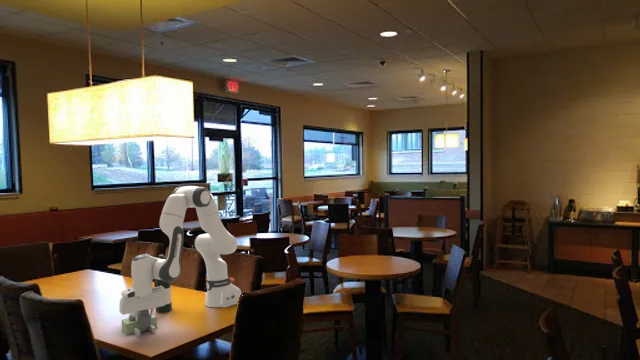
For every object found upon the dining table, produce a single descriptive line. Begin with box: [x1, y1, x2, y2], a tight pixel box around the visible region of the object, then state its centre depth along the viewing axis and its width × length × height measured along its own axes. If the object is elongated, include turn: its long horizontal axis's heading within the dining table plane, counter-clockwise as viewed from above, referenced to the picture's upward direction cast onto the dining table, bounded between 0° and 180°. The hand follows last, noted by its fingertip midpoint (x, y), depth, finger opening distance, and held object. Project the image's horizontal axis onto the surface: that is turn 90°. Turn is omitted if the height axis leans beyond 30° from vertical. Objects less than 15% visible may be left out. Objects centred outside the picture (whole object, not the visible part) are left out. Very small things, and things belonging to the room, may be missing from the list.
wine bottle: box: [153, 254, 173, 314], centre depth 240 cm, size 8×8×30 cm
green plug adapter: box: [121, 313, 158, 338], centre depth 211 cm, size 14×15×7 cm
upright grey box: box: [137, 309, 151, 328], centre depth 207 cm, size 4×7×7 cm, turn 38°
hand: (143, 319), depth 208 cm, fingers closed on upright grey box, 4 cm apart
